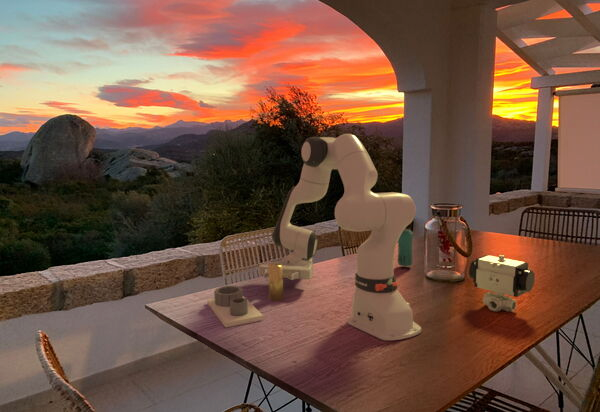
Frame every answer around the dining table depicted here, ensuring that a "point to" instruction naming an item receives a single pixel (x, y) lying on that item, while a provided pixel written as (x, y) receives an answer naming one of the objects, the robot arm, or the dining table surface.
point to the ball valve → (501, 280)
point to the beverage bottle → (405, 248)
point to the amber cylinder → (275, 281)
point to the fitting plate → (235, 319)
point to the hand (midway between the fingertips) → (277, 276)
